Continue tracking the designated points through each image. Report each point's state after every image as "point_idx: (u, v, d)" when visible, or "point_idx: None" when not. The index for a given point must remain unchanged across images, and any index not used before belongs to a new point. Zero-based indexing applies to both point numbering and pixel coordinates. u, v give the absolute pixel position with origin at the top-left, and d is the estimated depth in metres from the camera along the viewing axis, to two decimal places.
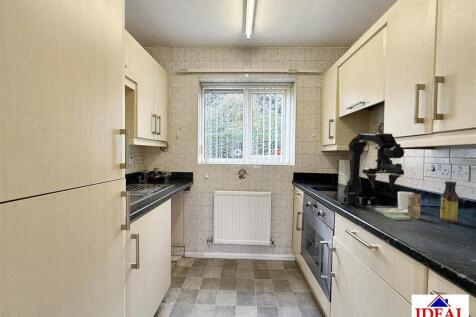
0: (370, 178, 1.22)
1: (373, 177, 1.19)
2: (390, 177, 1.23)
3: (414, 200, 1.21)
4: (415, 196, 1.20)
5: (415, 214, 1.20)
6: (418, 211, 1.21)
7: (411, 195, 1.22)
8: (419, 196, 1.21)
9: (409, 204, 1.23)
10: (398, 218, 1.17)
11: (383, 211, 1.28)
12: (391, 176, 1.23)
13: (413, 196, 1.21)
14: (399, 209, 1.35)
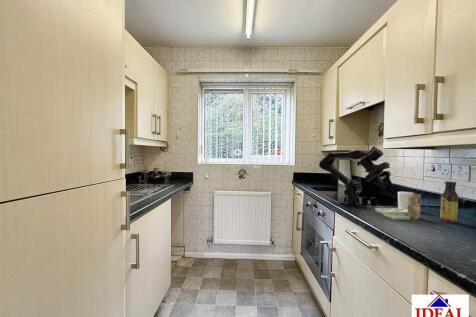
0: (375, 182, 1.32)
1: (378, 178, 1.31)
2: (384, 180, 1.39)
3: (413, 200, 1.21)
4: (415, 196, 1.20)
5: (415, 214, 1.20)
6: (418, 211, 1.21)
7: (411, 195, 1.22)
8: (419, 196, 1.21)
9: (409, 204, 1.23)
10: (398, 218, 1.17)
11: (383, 211, 1.28)
12: (384, 179, 1.39)
13: (413, 196, 1.21)
14: (399, 209, 1.35)
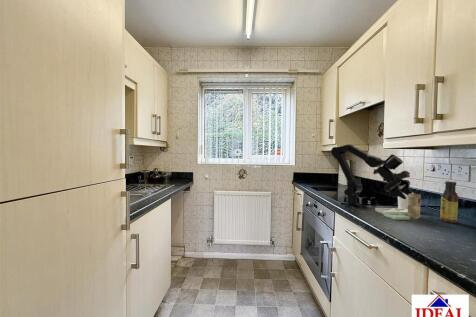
0: (395, 192, 1.24)
1: (398, 188, 1.23)
2: (403, 190, 1.31)
3: (414, 200, 1.21)
4: (415, 196, 1.20)
5: (415, 214, 1.20)
6: (418, 211, 1.21)
7: (411, 195, 1.22)
8: (419, 196, 1.21)
9: (409, 204, 1.23)
10: (398, 218, 1.17)
11: (383, 211, 1.28)
12: (403, 188, 1.31)
13: (413, 196, 1.21)
14: (399, 209, 1.35)
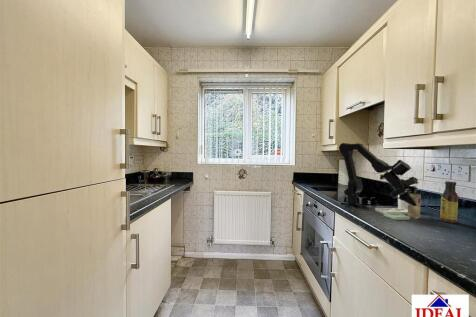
0: (405, 198, 1.23)
1: (408, 194, 1.21)
2: None
3: (414, 200, 1.21)
4: (415, 196, 1.20)
5: (415, 214, 1.20)
6: (418, 211, 1.21)
7: (411, 195, 1.22)
8: (419, 196, 1.21)
9: (409, 204, 1.23)
10: (398, 218, 1.17)
11: (383, 211, 1.28)
12: None
13: (413, 196, 1.21)
14: (399, 209, 1.35)
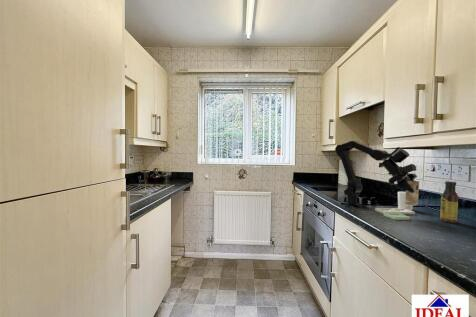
0: (403, 185, 1.22)
1: (406, 181, 1.21)
2: None
3: (411, 187, 1.20)
4: (413, 183, 1.20)
5: (413, 201, 1.20)
6: (416, 198, 1.20)
7: (409, 182, 1.21)
8: (417, 183, 1.20)
9: (407, 191, 1.22)
10: (398, 218, 1.17)
11: (383, 211, 1.28)
12: None
13: (411, 183, 1.20)
14: (399, 209, 1.35)
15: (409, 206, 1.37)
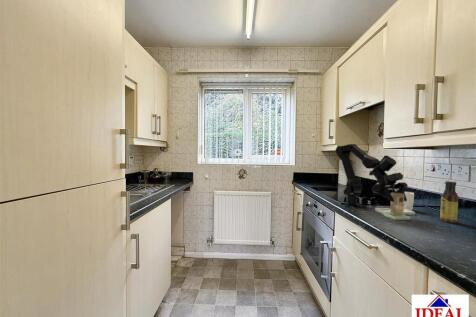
0: (384, 194, 1.22)
1: (386, 190, 1.20)
2: None
3: (395, 199, 1.20)
4: (396, 195, 1.19)
5: (396, 213, 1.19)
6: (400, 210, 1.19)
7: (393, 194, 1.21)
8: (401, 195, 1.19)
9: (391, 203, 1.22)
10: (398, 218, 1.17)
11: (383, 211, 1.28)
12: (398, 191, 1.25)
13: (394, 195, 1.20)
14: None
15: (409, 206, 1.37)
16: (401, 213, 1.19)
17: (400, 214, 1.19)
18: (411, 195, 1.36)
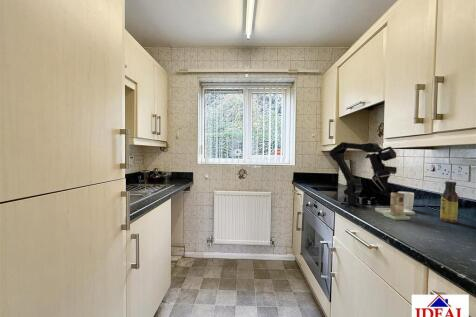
0: (382, 180, 1.28)
1: None
2: (378, 182, 1.38)
3: (395, 199, 1.20)
4: (396, 195, 1.19)
5: (396, 213, 1.19)
6: (400, 210, 1.19)
7: (393, 194, 1.21)
8: (401, 195, 1.19)
9: (391, 203, 1.22)
10: (398, 218, 1.17)
11: (383, 211, 1.28)
12: (378, 181, 1.38)
13: (394, 195, 1.20)
14: None
15: (409, 206, 1.37)
16: (401, 213, 1.19)
17: (400, 214, 1.19)
18: (411, 195, 1.36)
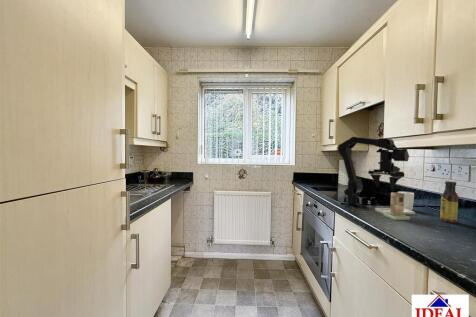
0: (393, 180, 1.29)
1: None
2: (376, 177, 1.39)
3: (395, 199, 1.20)
4: (396, 195, 1.19)
5: (396, 213, 1.19)
6: (400, 210, 1.19)
7: (393, 194, 1.21)
8: (401, 195, 1.19)
9: (391, 203, 1.22)
10: (398, 218, 1.17)
11: (383, 211, 1.28)
12: (376, 176, 1.39)
13: (394, 195, 1.20)
14: None
15: (409, 206, 1.37)
16: (401, 213, 1.19)
17: (400, 214, 1.19)
18: (411, 195, 1.36)
